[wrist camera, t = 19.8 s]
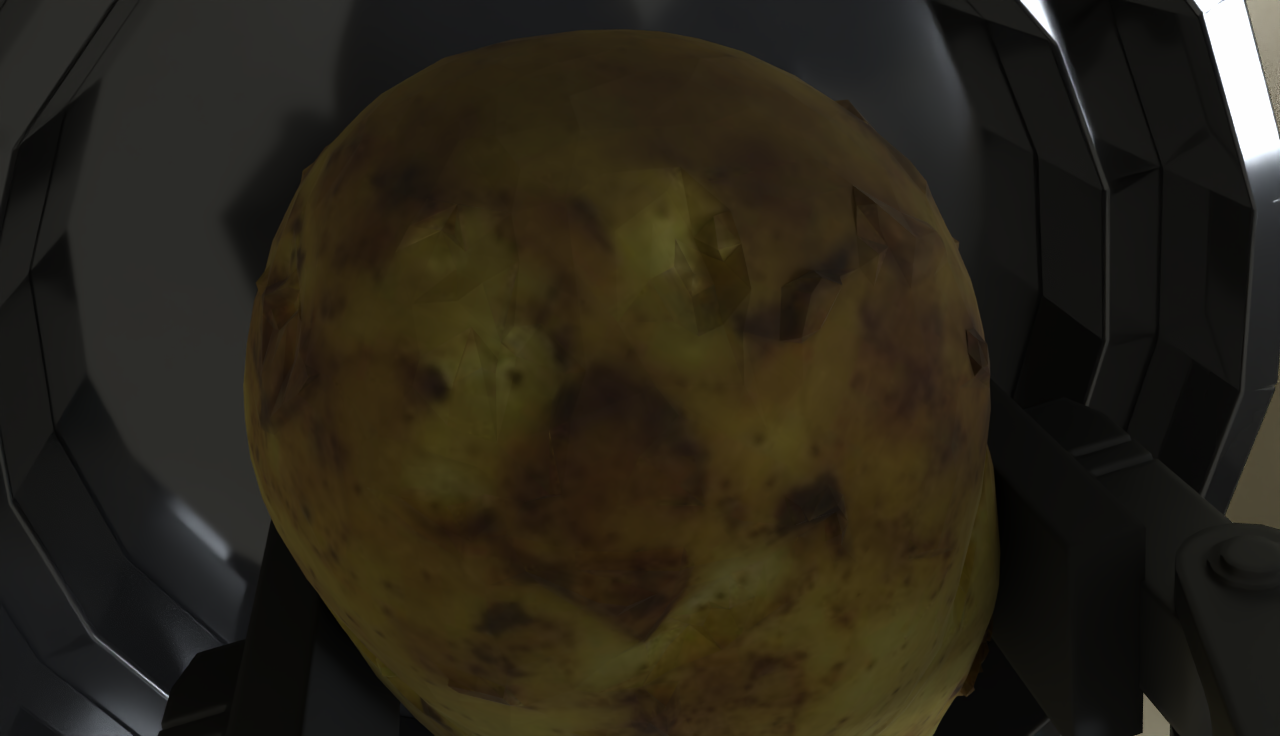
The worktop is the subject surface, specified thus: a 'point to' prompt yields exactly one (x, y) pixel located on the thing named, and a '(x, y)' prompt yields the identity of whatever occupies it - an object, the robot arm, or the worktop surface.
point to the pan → (532, 6)
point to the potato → (630, 401)
